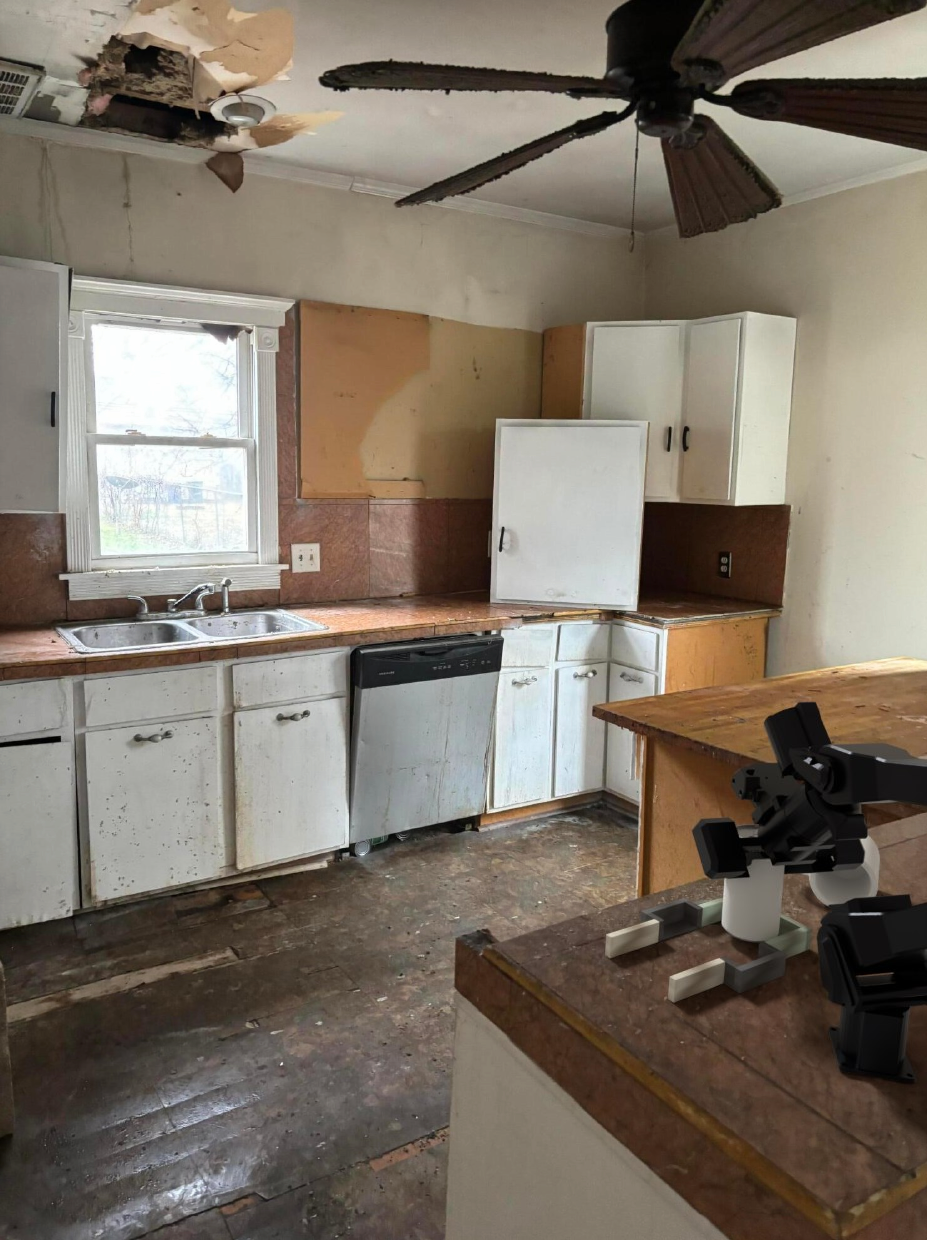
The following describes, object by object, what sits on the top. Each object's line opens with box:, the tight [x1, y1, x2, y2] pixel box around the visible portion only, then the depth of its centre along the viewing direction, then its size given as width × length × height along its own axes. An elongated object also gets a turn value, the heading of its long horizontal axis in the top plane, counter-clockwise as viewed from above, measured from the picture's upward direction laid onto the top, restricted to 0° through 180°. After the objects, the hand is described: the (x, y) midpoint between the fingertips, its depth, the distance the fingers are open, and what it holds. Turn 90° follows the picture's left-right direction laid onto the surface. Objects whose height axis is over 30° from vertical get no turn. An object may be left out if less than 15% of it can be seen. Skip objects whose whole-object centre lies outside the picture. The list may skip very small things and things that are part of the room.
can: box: [721, 823, 785, 944], centre depth 103 cm, size 6×6×12 cm
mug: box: [803, 835, 881, 907], centre depth 117 cm, size 12×10×8 cm
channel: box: [604, 897, 813, 1004], centre depth 101 cm, size 22×15×2 cm
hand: (747, 872), depth 104 cm, fingers closed on can, 6 cm apart
